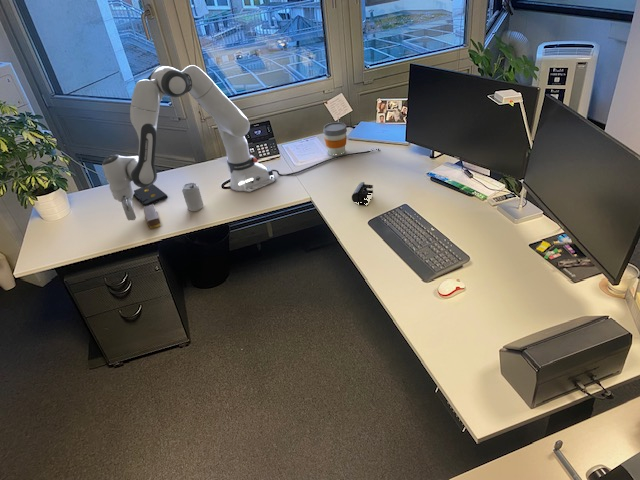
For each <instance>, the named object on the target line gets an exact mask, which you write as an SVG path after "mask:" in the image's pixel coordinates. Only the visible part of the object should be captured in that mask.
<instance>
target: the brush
mask: <svg viewBox="0 0 640 480" xmlns="http://www.w3.org/2000/svg"><path fill="white" fill-rule="evenodd" d="M154 204H155V203H154ZM154 204H152V205H149V206H146V207H145V206H143V207H142V210H143V213H144V216H145V219H146V222H147V225H148V227H149V228H150V230H153V229H156V228H159V227H161V221H160V218H159V216H158V213H157V210H156V207H155V205H154Z"/></svg>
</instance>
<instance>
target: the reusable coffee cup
mask: <svg viewBox="0 0 640 480" xmlns="http://www.w3.org/2000/svg"><path fill="white" fill-rule="evenodd" d="M347 129H348V128H347V125H346V124H345V123H344V122H340V121H339V122H338V121H335V122H329V123H326V124H325V125H324V126H323V131H322V132H323V134H324V137H323V138H324V142H325V145H326V147H327V153H328V155H329V156H331V157H337V156H341V155H345V154H346V145H347V137H348V135H347V132H348V130H347ZM343 152H344V153H343ZM341 153H342V154H341ZM333 154H334V155H333ZM335 154H337V155H335Z"/></svg>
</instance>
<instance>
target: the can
mask: <svg viewBox="0 0 640 480" xmlns="http://www.w3.org/2000/svg"><path fill="white" fill-rule="evenodd" d="M181 192H182V195H183V198H184V202H185V205H186V208H187V210H188V211H190V212H197V211H200V210H201V209H202V208H203V207H204V201H203V198H202V194H201V191H200V187H199V185H197V183H195V182H188V183H186V184H184V185H183V186H182V191H181Z"/></svg>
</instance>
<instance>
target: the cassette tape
mask: <svg viewBox="0 0 640 480" xmlns="http://www.w3.org/2000/svg"><path fill="white" fill-rule="evenodd" d="M134 192H135V193H134V195H133V198H135V199H136V200H137V201H138V202H139V203H140V204H141V205H143V207H146V206H149V205H153V204H156V203H158V202H161V201H164V200H165V199H168V195H167V194H166V193H165V192H164V191H163V190H161V189H160V188H159V187H158V186H156V185H155V183H153V184H152V185H151V186H149V187H146V188H141V187H138V188H136V189H134Z"/></svg>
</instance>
